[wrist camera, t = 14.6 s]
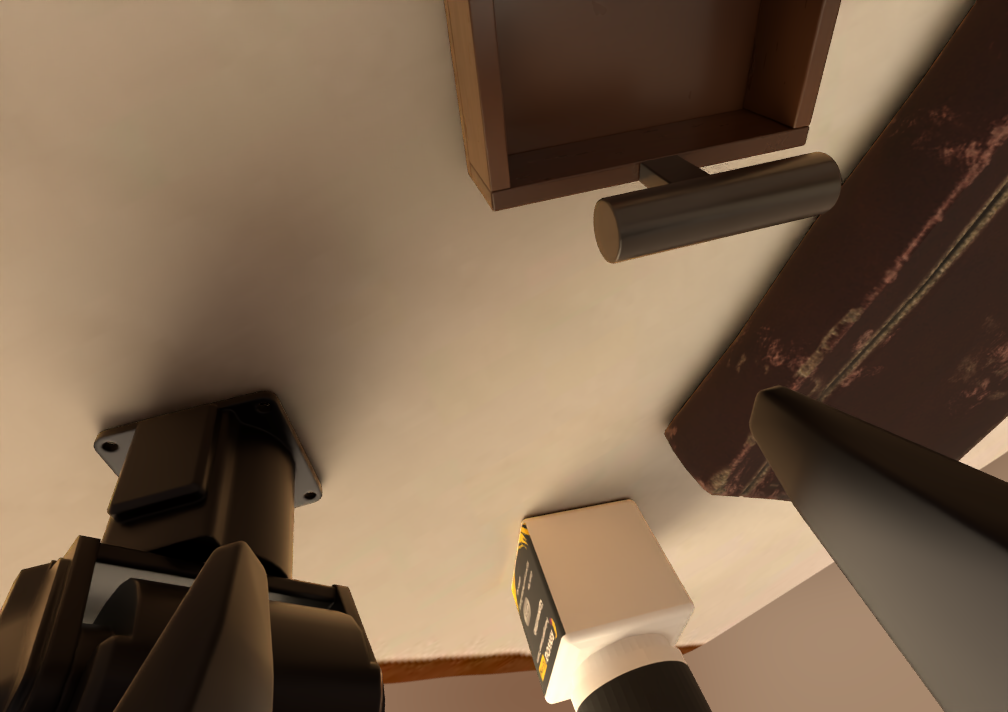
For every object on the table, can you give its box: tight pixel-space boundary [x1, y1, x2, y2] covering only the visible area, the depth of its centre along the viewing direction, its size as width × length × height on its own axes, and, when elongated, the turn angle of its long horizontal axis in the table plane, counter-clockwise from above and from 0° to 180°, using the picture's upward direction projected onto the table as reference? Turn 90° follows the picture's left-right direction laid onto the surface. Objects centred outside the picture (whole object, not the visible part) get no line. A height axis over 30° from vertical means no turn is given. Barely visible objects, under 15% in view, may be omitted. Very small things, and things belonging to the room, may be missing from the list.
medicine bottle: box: [511, 499, 712, 712], centre depth 29 cm, size 7×7×12 cm
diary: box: [664, 0, 1008, 501], centre depth 25 cm, size 19×25×5 cm
